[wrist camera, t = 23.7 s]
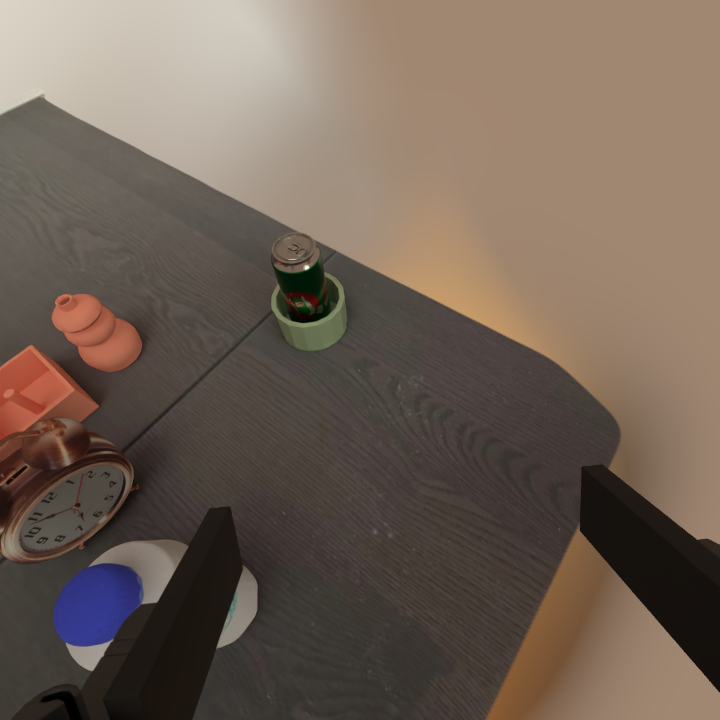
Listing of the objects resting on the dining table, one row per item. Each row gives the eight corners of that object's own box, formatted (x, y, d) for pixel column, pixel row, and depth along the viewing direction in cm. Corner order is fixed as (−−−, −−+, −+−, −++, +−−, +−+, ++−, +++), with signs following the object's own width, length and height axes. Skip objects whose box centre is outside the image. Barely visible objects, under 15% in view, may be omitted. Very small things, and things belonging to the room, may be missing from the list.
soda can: (310, 298, 51) (292, 222, 41) (340, 316, 50) (329, 242, 39) (283, 323, 50) (257, 251, 39) (313, 344, 48) (294, 273, 37)
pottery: (24, 468, 42) (-65, 436, 34) (-15, 418, 46) (-106, 376, 37) (162, 353, 49) (117, 302, 41) (119, 316, 52) (68, 262, 44)
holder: (328, 287, 53) (323, 260, 49) (359, 331, 49) (357, 306, 45) (270, 314, 51) (259, 288, 47) (298, 362, 47) (289, 339, 43)
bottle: (277, 571, 36) (181, 545, 19) (246, 660, 33) (96, 727, 16) (211, 549, 37) (64, 505, 20) (175, 632, 34) (-37, 666, 17)
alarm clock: (72, 572, 37) (-95, 558, 24) (42, 541, 38) (-130, 512, 25) (161, 473, 41) (61, 416, 28) (131, 448, 43) (23, 384, 30)
